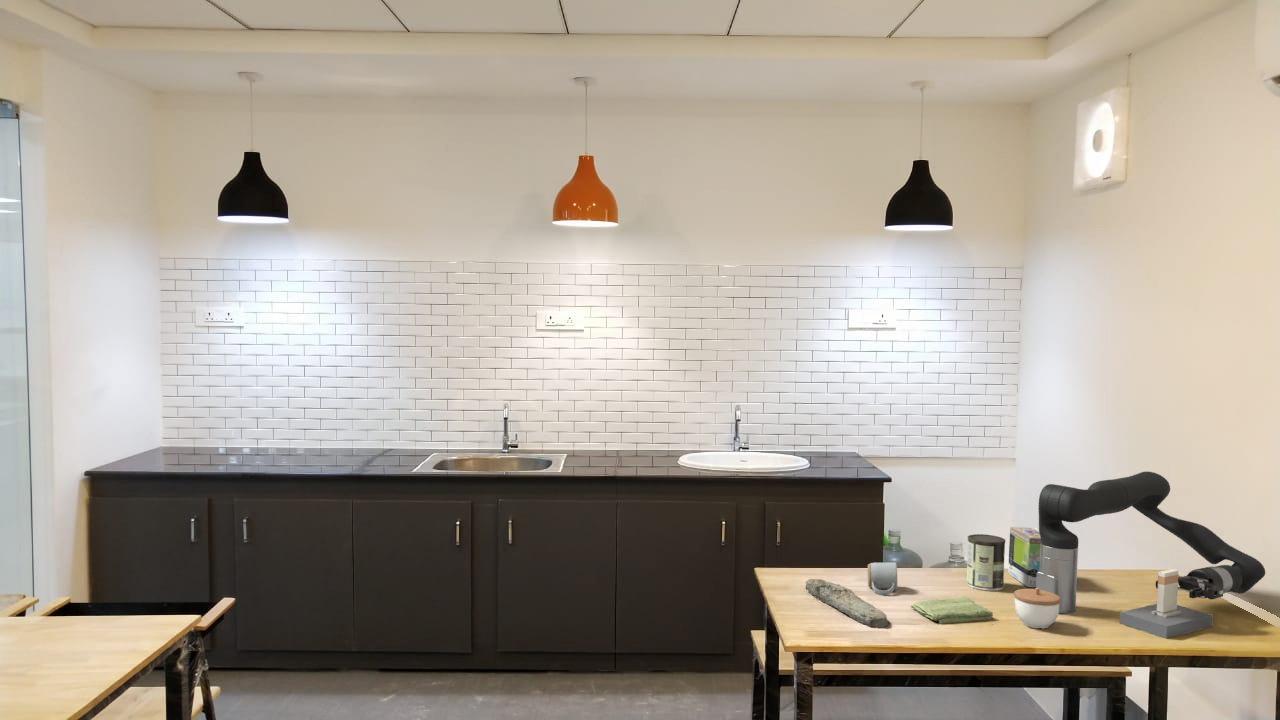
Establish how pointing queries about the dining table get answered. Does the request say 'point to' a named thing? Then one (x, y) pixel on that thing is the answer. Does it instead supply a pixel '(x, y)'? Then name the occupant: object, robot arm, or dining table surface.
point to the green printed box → (1024, 554)
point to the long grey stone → (846, 602)
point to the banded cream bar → (1167, 592)
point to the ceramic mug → (882, 577)
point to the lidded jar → (1036, 607)
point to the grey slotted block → (1166, 620)
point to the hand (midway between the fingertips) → (1173, 589)
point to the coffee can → (985, 562)
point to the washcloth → (952, 610)
